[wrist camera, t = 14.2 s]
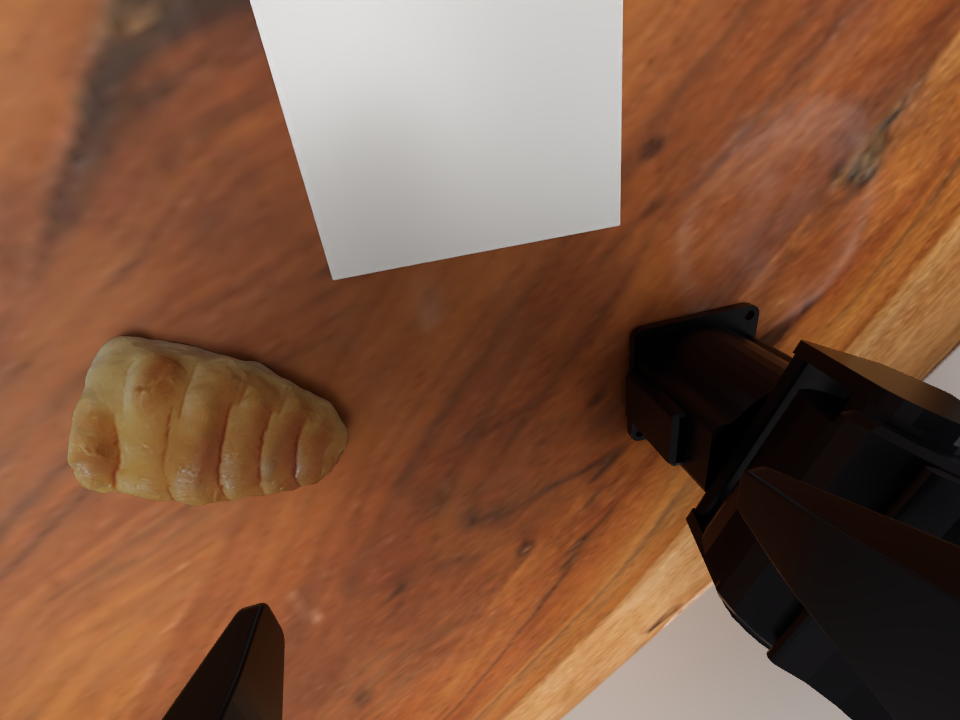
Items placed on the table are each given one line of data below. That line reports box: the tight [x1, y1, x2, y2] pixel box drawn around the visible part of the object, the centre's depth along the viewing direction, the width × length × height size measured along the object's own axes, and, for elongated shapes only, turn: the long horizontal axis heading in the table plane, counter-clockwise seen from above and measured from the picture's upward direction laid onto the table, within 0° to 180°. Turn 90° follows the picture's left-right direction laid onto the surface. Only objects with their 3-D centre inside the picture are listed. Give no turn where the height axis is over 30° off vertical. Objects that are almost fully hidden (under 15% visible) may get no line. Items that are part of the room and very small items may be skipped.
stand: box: [250, 0, 623, 280], centre depth 15 cm, size 11×11×2 cm
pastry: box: [68, 336, 348, 506], centre depth 18 cm, size 9×7×4 cm
